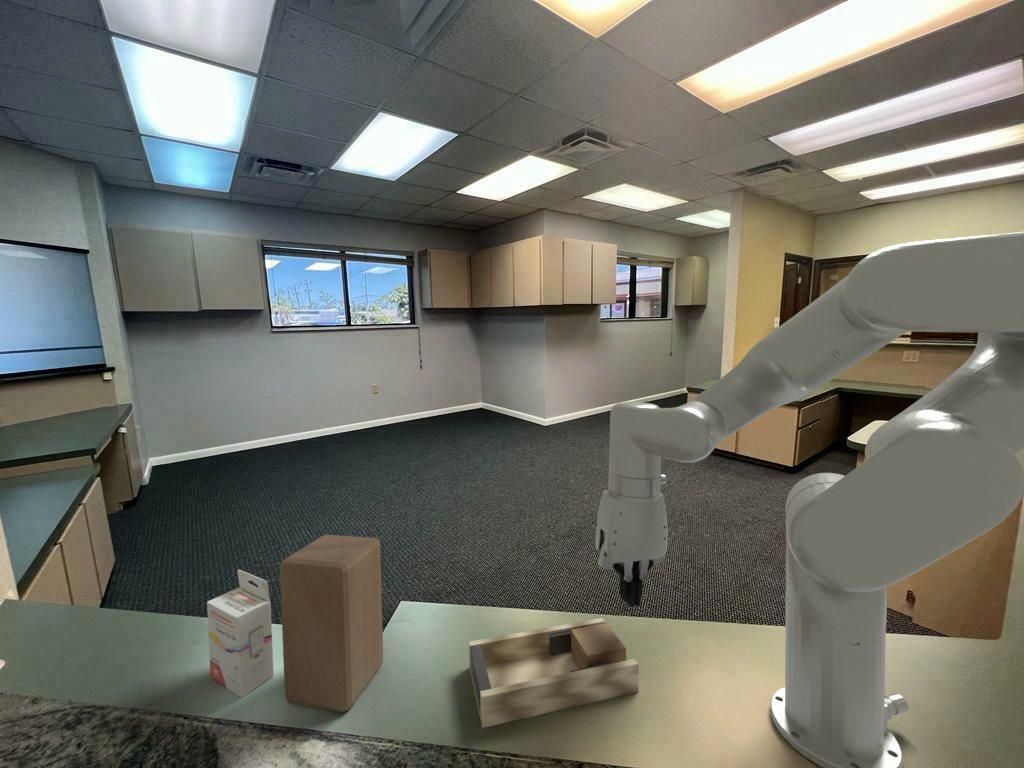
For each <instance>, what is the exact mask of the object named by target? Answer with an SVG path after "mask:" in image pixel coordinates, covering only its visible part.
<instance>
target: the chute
mask: <svg viewBox="0 0 1024 768" xmlns="http://www.w3.org/2000/svg"><path fill="white" fill-rule="evenodd" d="M605 623H606V621H605V619H604V618H603V617H599V618H594V619H588V620H587V619H586V620H583V621H576V622H572V623H566V624H560V625H554V626H548V627H543V628H537V629H531V630H527V631H522V632H521V631H520V632H516V633H509V634H504V635H498V636H493V637H487V638H481V639H476V640H471V641H468V655H469V657H468V658H469V659H468V661H469V671H470V676H471V681H472V685H473V690H474V691H473V692H474V696H475V700H476V705H477V710H478V715H479V718H480V725H481V728H482V729H484V728H488V727H493V726H496V725H497V726H498V725H501V724H506V723H510V722H515V721H519V720H523V719H524V720H525V719H528V718H532V717H536V716H540V715H544V714H548V713H553V712H558V711H562V710H566V709H570V708H574V707H579V706H583V705H587V704H588V705H589V704H591V703H596V702H601V701H605V700H609V699H613V698H614V699H615V698H618V697H622V696H627V695H631V694H635V693H639V690H640V689H639V685H640V684H639V682H640V681H639V677H640V676H639V662H638V661H637V660H636V659H635V658H632V659H629V660H627V659H626V661H622V662H618V663H613V664H610V663H605V664H600V665H595V666H590V667H586V668H581V669H579V667H578V666H577V664H576V662H575V660H574V659H573V657H572V655H571V630H572V629H577V628H583V627H588V626H594V625H599V624H605Z"/></svg>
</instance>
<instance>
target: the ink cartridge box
mask: <svg viewBox="0 0 1024 768" xmlns="http://www.w3.org/2000/svg"><path fill="white" fill-rule="evenodd" d="M236 571H237V579H238V584H239V587H237V588H235V589H232V590H229V591H228V592H226V593H223V594H221V595H218V596H216V597H214V598H213V599H210V600H208V601H206V606H207V607H206V609H207V630H208V650H209V651H208V652H209V670H210V671H209V672H210V678H211V679H212V680H215V681H216V682H218V683H219V684H220V685H222V686H224V688H226V689H228V690H229V691H230V692H232V693H234V694H235V695H237V696H238V697H239V698H244V697H245V696H247V695H248V694H250V693H251V692H252V691H254V690H256V689H257V688H258V687H260V686H261V685H263V684H264V683H266V682H267V681H268V680H270V679H271V678H272V677H274V674H275V673H274V652H273V628H272V627H273V626H272V609H271V608H272V605H271V598H270V593H269V584H268V581H267V580H265V579H263V578H261V577H259V576H256V575H254V574H251V573H248V572H247V571H243V570H242V569H237V570H236ZM251 581H252V582H253V583H254V584H256V585H257V587H256V586H255V585H253V584H251V583H249V582H251Z"/></svg>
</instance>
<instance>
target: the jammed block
mask: <svg viewBox="0 0 1024 768" xmlns="http://www.w3.org/2000/svg"><path fill="white" fill-rule="evenodd" d="M571 655H572V657H573V659H574V660H575V662H576V664H577V666H578V667H579V669H581V668H586V667H590V666H595V665H600V664H605V663H610V664H613V663H618V662H622V661H627V648H626V646H625V645H624V643H623V642H622V641H621V639H620V638H619V637H618V636H617V634H616V633H615V632H614V631H613V630H612V628H611V627H610V626H609V624H608V623H606V622H605V624H599V625H594V626H588V627H583V628H577V629H572V630H571Z"/></svg>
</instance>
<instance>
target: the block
mask: <svg viewBox="0 0 1024 768" xmlns="http://www.w3.org/2000/svg"><path fill="white" fill-rule="evenodd" d="M381 566H382V565H381V542H380V540H379V538H376V537H362V536H350V535H338V534H337V535H335V534H324V535H322V536H320V537H319V538H317V539H315V540H313V541H312V542H310V543H308V544H307V545H305V546H303V547H302V548H300V549H299V550H297V551H296V552H294V553H293V554H291V555H289V556H288V557H286V558H284V559H283V560H282V561H281V563H280V566H279V579H280V580H279V581H280V584H279V585H280V601H281V602H280V603H281V607H280V608H281V630H282V631H281V632H282V654H283V656H282V657H283V683H284V684H283V685H284V698H285V700H286V702H288V703H289V704H293V705H298V706H306V707H311V708H318V709H323V710H328V711H336V712H341V713H344V712H348V710H350V709H351V708H352V707H353V705H354V704H355V703H356V701H357V700H358V699H359V697H360V696H361V694H362V693H363V692H364V690H365V689H366V687H367V686H368V685H369V684H370V682H371V681H372V679H373V678H374V676H375V675H376V674H377V672H378V671H379V670H380V668H381V667H382V664H383V662H384V639H383V638H384V636H383V635H384V634H383V611H382V610H383V608H382V607H383V606H382V604H383V603H382V579H381V578H382V573H381V572H382V571H381V568H382V567H381Z"/></svg>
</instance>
